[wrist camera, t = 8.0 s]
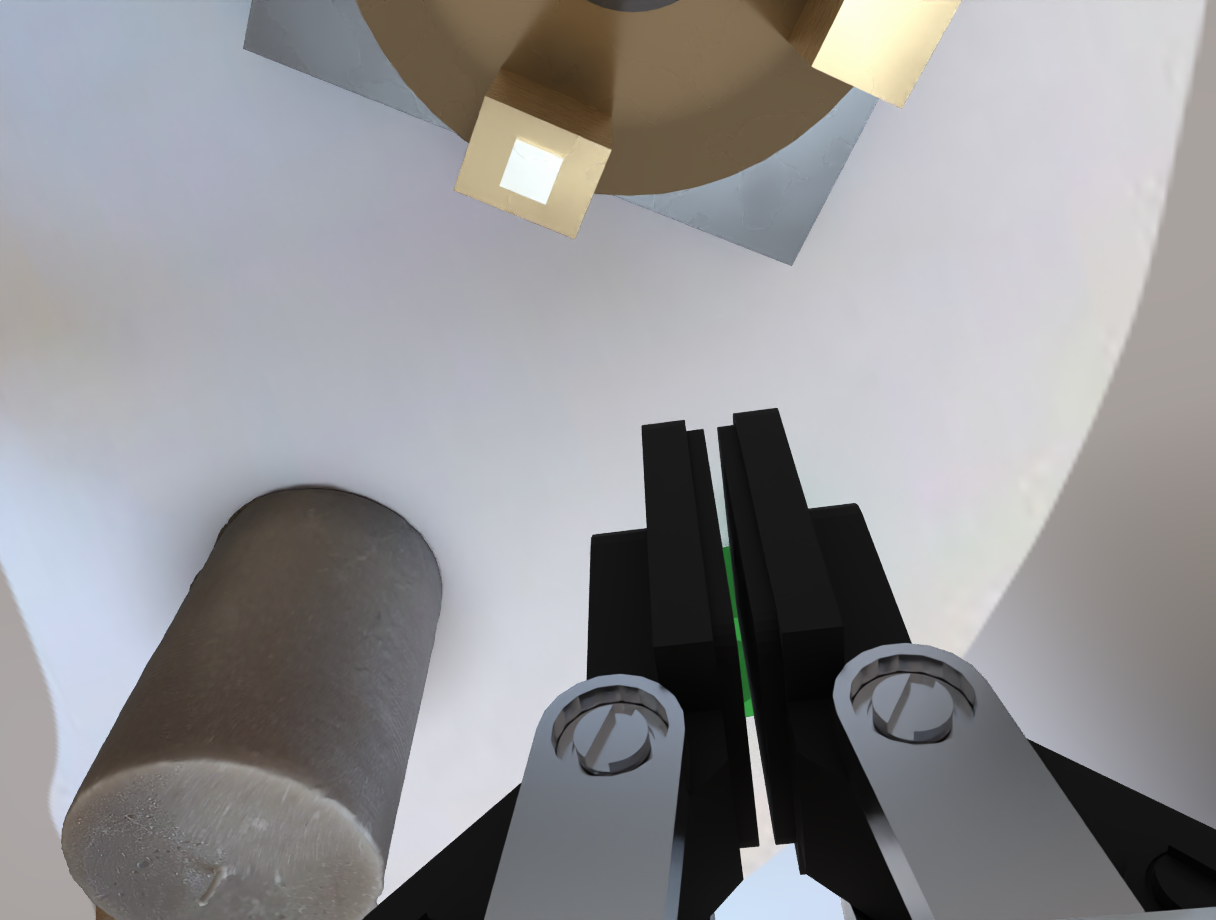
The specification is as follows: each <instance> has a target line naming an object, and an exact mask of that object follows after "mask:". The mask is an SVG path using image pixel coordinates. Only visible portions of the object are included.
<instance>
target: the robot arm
mask: <svg viewBox="0 0 1216 920" xmlns="http://www.w3.org/2000/svg"><path fill="white" fill-rule="evenodd" d="M717 431H718V442H719V451H720V461H721V470H722V479H723V489H724V498H725V508H726V517H727V526H728V536H729V545H730V555H731V564H732V573H733V583H734V592H735V601H736V609H737V616H738V623H739V629H740V635H741V641H742V647H743V653H744V659H745V665H746V671H747V677H748V683H749V689H750V695H751V701H752V707H753V713H754V719H755V725H756V731H757V737H758V743H759V750H760V756H761V762H762V768H763V774H764V780H765V786H766V792H767V798H768V804H769V810H770V816H771V822H772V828H773V834H774V840H775V844H776V845H780V844H790V843H794V844H795V849H796V855H797V860H798V865H799V871H800V875H803V874H807V875H808V876H810V877H811V878H813V879H814V880H816V881H817V882H819V883H820V884H822V885H823V886H825V887H826V888H828V889H829V890H830V891H832V892H833V893H835V894H836V895H838V896H839V897H841V904H842V909H843V914H844V919H845V920H1216V829H1213V828H1211V827H1209V826H1207V825H1205V824H1203V823H1201V822H1199V821H1197V820H1195V819H1193V818H1190V817H1188V816H1186V815H1184V814H1182V813H1180V812H1178V811H1176V810H1174V809H1172V808H1170V807H1168V806H1165V805H1164V804H1162V803H1159V802H1157V801H1155V800H1153V799H1151V798H1149V797H1147V796H1145V795H1143V794H1141V793H1139V792H1137V791H1134V790H1133V789H1130V788H1128V787H1126V786H1124V785H1122V784H1120V783H1118V782H1116V781H1114V780H1112V779H1110V778H1108V777H1106V776H1103V775H1101V774H1099V773H1097V772H1095V771H1093V770H1091V769H1089V768H1087V767H1085V766H1083V765H1080V764H1078V763H1076V762H1074V761H1072V760H1070V759H1068V758H1066V757H1064V756H1062V755H1060V754H1058V753H1056V752H1054V751H1052V750H1049V749H1047V748H1045V747H1043V746H1041V745H1039V744H1037V743H1035V742H1033V741H1031V740H1029V739H1027V738H1026V737H1025V735H1024V734H1023V732H1022V731H1021V730H1020V728H1019V727H1018V725H1017V724H1016V722H1015V721H1014V719H1013V718H1012V717H1011V715H1010V713H1009V712H1008V711H1007V709H1006V708H1005V706H1004V705H1003V703H1002V702H1001V700H1000V699H999V698H998V696H997V694H996V693H995V692H994V690H993V689H992V687H991V686H990V684H989V683H988V681H987V680H986V679H985V678H984V677H983V676H982V675H981V674H980V673H979V672H978V671H977V670H976V669H975V668H974V666H973V665H971V664H970V663H968V662H966V661H965V660H963V659H961V658H960V657H958V656H956V655H955V654H953V653H951V652H948V651H945V650H941V649H938V648H935V647H932V646H929V645H919V644H912V643H911V640H910V638H909V635H908V632H907V630H906V627H905V624H904V622H903V619H902V617H901V614H900V611H899V609H898V606H897V604H896V601H895V598H894V596H893V593H892V590H891V588H890V585H889V583H888V580H887V577H886V575H885V572H884V569H883V567H882V564H881V562H880V559H879V556H878V554H877V551H876V549H875V546H874V543H873V541H872V538H871V535H870V533H869V530H868V528H867V525H866V522H865V520H864V517H863V514H862V512H861V510H860V508H859V506H858V505H857V504H856V503H852V504H843V505H835V506H827V507H818V508H810V509H808V507H807V503H806V500H805V497H804V493H803V490H802V487H801V484H800V480H799V477H798V474H797V470H796V467H795V464H794V460H793V457H792V454H791V450H790V447H789V444H788V440H787V437H786V434H785V430H784V427H783V424H782V421H781V417H780V414H779V411H778V408H772V409H764V410H757V411H749V412H741V413H733V425H731V426H723V427H717ZM642 446H643V465H644V484H645V503H646V522H647V528H645V529H636V530H628V531H620V532H611V533H603V534H595V535H592V537H591V552H590V585H589V618H588V651H587V680H586V681H584V682H581V683H578V684H576V685H574V686H573V687H571V688H570V689H568V690H567V691H565V692H563V693H562V694H560V695H559V696H558V697H557V698H556V699H555V700H554V701H553V702H552V703H551V704H550V706H549V707H548V708H547V709H546V710H545V711H544V713H543V716H542V718H541V720H540V722H539V724H538V726H537V729H536V732H535V736H534V740H533V743H532V747H531V750H530V754H529V758H528V761H527V765H526V769H525V772H524V776H523V780H522V783H520V784H519V785H518V786H517V787H516V788H515V789H513V790H512V791H511V792H510V793H509V794H508V795H506V796H505V797H504V798H503V799H502V800H501V801H499V802H498V803H497V804H496V805H495V806H494V807H492V808H491V809H490V810H489V811H488V812H487V813H485V814H484V815H483V816H482V817H481V818H479V819H478V820H477V821H476V822H475V823H474V824H472V825H471V826H470V827H469V828H468V829H467V830H465V831H464V832H463V833H462V834H461V835H460V836H458V837H457V838H456V839H455V840H454V841H453V842H451V843H450V844H449V845H448V846H447V847H446V848H444V849H443V850H442V851H441V852H440V853H439V854H437V855H436V856H435V857H434V858H433V859H432V860H430V861H429V862H428V863H427V864H426V865H425V866H423V867H422V868H421V869H420V870H419V871H418V872H416V873H415V874H414V875H413V876H412V877H411V878H409V879H408V880H407V881H406V882H405V883H404V884H402V885H401V886H400V887H399V888H398V889H397V890H395V891H394V892H393V893H392V894H391V895H389V896H388V897H387V898H386V899H385V900H384V901H382V902H381V903H380V904H379V905H378V906H377V907H375V908H374V909H373V910H372V911H371V912H370V913H368V914H367V915H366V916H365V917H364V918H363V919H362V920H715V914H714V912H715V911H716V910H717V908H718V907H719V906H720V905H721V904H722V903H723V902H724V901H725V900H726V898H727V897H728V896H729V895H730V894H731V893H732V892H733V891H734V890H735V888H736V887H737V886H738V885H739V884H740V883H741V882H742V881H743V872H742V864H741V856H740V848H747V847H758V846H759V837H758V827H757V818H756V809H755V800H754V790H753V781H752V772H751V763H750V753H749V744H748V735H747V726H746V716H745V707H744V698H743V689H742V679H741V670H740V661H739V653H738V645H737V637H736V630H735V623H734V616H733V610H732V604H731V598H730V591H729V585H728V579H727V573H726V566H725V560H724V554H723V548H722V542H721V535H720V529H719V523H718V517H717V510H716V504H715V498H714V492H713V485H712V479H711V473H710V467H709V461H708V454H707V448H706V442H705V436H704V430H703V429H700V430H692V431H686V426H685V420H679V421H672V422H664V423H656V424H648V425H642Z"/></svg>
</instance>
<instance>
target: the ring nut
mask: <svg viewBox="0 0 1216 920" xmlns="http://www.w3.org/2000/svg"><path fill="white" fill-rule="evenodd" d="M961 1H962V0H356V3H357V5H358V7H359V10H360V12H361V14H362V17H363V18H364V20H365V22H366V24H367V25H368V27H369V29H370V31H371V32H372V34H373V36H374V38H375V39H376V41H377V43H378V45H379V46H380V48H381V50H382V52H383V53H384V55H385V56H386V57H387V59H388V60H389V62H390V63H391V64H392V66H393V67H394V68H395V70H396V71H397V72H398V74H399V75H400V77H401V78H402V79H403V81H404V82H405V83H406V85H407V86H408V87H409V88H410V89H411V90H412V91H413V93H414V94H415V95H416V96H417V97H418V98H419V99H420V100H421V101H422V102H423V103H424V104H425V105H426V107H427V108H428V109H429V110H430V111H431V112H432V113H433V114H434V115H435V116H436V117H437V118H439V119H440V120H441V121H442V122H443V123H445V124H446V125H447V126H448V127H449V128H450V129H452V130H453V131H454V132H455V133H456V134H458V135H459V136H460V137H461V138H462V139H464V140H465V141H467V142H468V143H469V145H468V148H467V151H466V154H465V157H464V160H463V163H462V166H461V169H460V172H459V175H458V178H457V181H456V184H455V187H454V191H456V192H459V193H461V194H464V195H466V196H469V197H471V198H474V199H476V200H479V201H481V202H484V203H486V204H488V205H491V206H493V207H496V208H498V209H501V210H503V211H506V212H508V213H511V214H513V215H516V216H518V217H521V218H523V219H526V220H528V221H531V222H533V223H535V224H538V225H540V226H543V227H545V228H548V229H550V230H553V231H555V232H558V233H560V234H563V235H565V236H568V237H570V238H573V239H575V237H576V235H577V233H578V230H579V228H580V225H581V223H582V220H583V218H584V216H585V213H586V211H587V208H588V206H589V204H590V201H591V199H592V196H593V194H608V195H622V196H635V195H652V194H665V193H670V192H675V191H680V190H686V189H691V188H696V187H700V186H703V185H706V184H709V183H712V182H715V181H718V180H721V179H724V178H727V177H730V176H733V175H735V174H737V173H739V172H741V171H743V170H745V169H747V168H749V167H752V166H754V165H756V164H758V163H760V162H762V161H764V160H766V159H767V158H769V157H770V156H772V155H774V154H775V153H777V152H778V151H780V150H781V149H783V148H785V147H786V146H788V145H789V144H791V143H792V142H794V141H796V140H797V139H798V138H799V137H800V136H802V135H803V134H804V133H805V132H807V131H808V130H809V129H810V128H811V127H813V126H814V125H815V124H816V123H818V122H819V121H820V120H821V119H822V118H824V117H825V116H826V115H827V114H828V113H829V112H830V111H831V110H832V109H833V108H834V107H835V106H836V105H837V104H838V103H839V101H840V100H841V99H842V98H843V97H844V96H845V95H846V94H847V93H848V92H849V91H850V90H851V89H852V88H853V87H856V88H858V89H860V90H863V91H865V92H867V93H869V94H871V95H873V96H875V97H878V98H880V99H882V100H884V101H886V102H888V103H890V104H893V105H895V106H897V107H899V108H901V109H902V107H903V106H904V104H905V102H906V100H907V98H908V97H909V95H910V93H911V91H912V89H913V88H914V86H915V84H916V82H917V80H918V78H919V77H920V75H921V73H922V71H923V69H924V68H925V66H926V64H927V62H928V60H929V59H930V57H931V55H932V53H933V51H934V50H935V48H936V46H937V44H938V42H939V41H940V39H941V37H942V35H943V33H944V32H945V30H946V28H947V26H948V24H949V23H950V21H951V19H952V17H953V15H954V14H955V12H956V10H957V8H958V6H959V5H960V3H961Z"/></svg>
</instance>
